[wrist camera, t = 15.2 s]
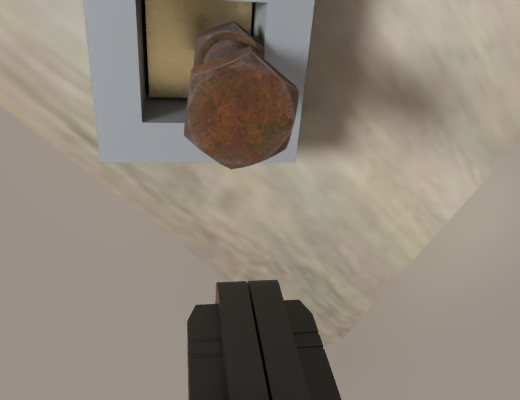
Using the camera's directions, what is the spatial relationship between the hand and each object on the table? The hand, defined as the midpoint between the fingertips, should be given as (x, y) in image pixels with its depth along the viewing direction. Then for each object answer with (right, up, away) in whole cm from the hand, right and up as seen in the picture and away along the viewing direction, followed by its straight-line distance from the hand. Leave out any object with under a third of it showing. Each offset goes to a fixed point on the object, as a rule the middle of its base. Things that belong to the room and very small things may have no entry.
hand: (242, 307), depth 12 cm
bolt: (-2, +14, +23) cm, 27 cm away
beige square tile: (-4, +14, +24) cm, 29 cm away
